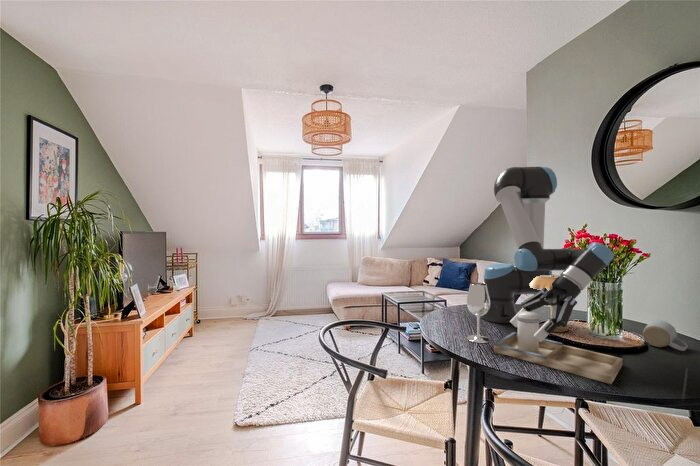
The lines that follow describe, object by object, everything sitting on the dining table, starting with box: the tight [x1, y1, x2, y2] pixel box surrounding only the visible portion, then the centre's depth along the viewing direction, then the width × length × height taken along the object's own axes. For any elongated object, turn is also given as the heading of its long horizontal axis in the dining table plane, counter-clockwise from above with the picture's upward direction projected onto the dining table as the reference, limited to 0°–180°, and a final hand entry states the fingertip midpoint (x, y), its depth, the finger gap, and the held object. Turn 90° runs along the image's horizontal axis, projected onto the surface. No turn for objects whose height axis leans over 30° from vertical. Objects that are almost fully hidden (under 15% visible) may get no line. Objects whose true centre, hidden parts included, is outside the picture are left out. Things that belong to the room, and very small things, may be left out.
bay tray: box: [493, 331, 623, 385], centre depth 101 cm, size 30×16×3 cm, turn 43°
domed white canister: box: [517, 311, 540, 354], centre depth 106 cm, size 6×6×12 cm
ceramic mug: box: [642, 319, 688, 352], centre depth 111 cm, size 11×8×8 cm
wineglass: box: [466, 282, 491, 344], centre depth 118 cm, size 8×8×20 cm
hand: (524, 331), depth 106 cm, fingers open, 13 cm apart
